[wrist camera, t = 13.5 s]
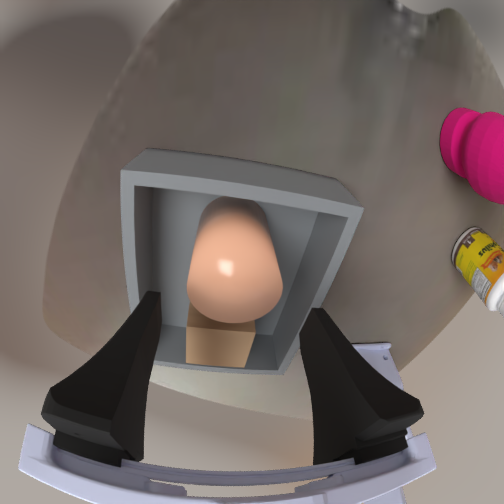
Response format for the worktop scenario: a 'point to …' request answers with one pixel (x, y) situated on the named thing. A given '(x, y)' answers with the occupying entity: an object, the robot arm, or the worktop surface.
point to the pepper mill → (476, 150)
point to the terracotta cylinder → (234, 263)
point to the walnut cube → (217, 340)
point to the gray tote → (185, 229)
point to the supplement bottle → (481, 266)
